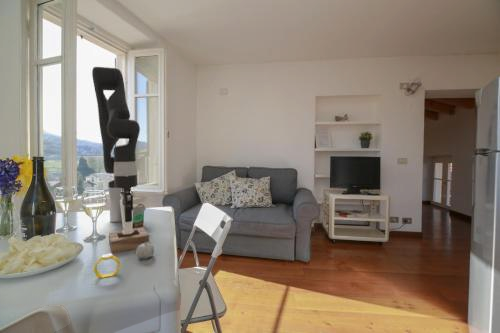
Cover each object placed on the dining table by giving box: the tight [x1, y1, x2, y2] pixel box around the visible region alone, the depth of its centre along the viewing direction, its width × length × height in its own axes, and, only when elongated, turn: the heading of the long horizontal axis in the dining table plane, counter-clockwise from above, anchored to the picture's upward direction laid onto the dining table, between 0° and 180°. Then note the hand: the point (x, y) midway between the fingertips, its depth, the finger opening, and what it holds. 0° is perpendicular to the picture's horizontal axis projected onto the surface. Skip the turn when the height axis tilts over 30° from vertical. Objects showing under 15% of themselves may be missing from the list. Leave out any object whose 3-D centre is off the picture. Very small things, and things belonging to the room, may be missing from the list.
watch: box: [93, 253, 121, 279], centre depth 66 cm, size 6×3×6 cm, turn 112°
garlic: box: [135, 241, 155, 260], centre depth 78 cm, size 6×5×5 cm
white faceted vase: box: [120, 199, 134, 234], centre depth 89 cm, size 5×4×15 cm
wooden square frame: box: [108, 226, 150, 254], centre depth 90 cm, size 12×12×4 cm
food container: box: [132, 203, 146, 229], centre depth 110 cm, size 12×6×10 cm, turn 168°
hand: (127, 219), depth 90 cm, fingers closed on white faceted vase, 4 cm apart
